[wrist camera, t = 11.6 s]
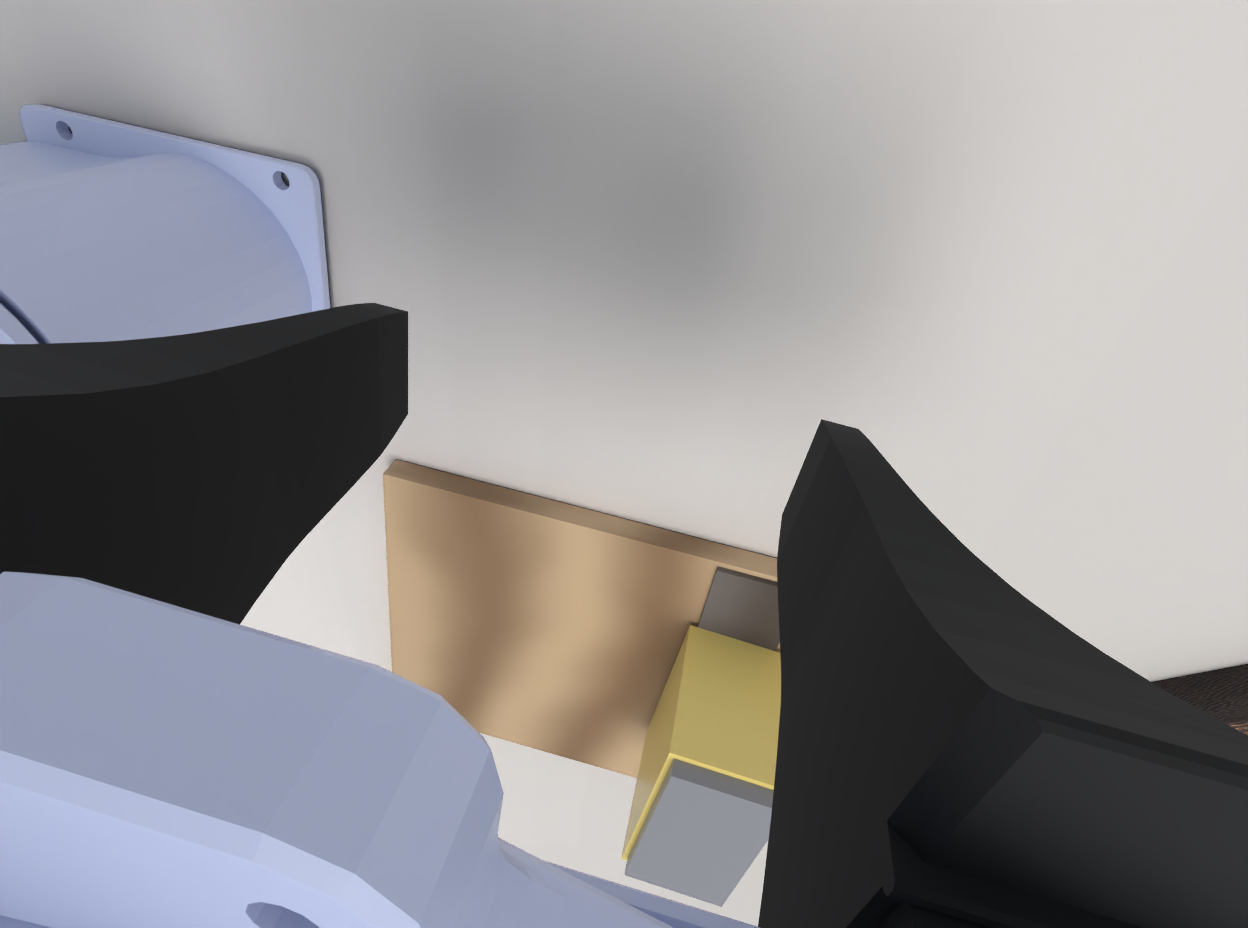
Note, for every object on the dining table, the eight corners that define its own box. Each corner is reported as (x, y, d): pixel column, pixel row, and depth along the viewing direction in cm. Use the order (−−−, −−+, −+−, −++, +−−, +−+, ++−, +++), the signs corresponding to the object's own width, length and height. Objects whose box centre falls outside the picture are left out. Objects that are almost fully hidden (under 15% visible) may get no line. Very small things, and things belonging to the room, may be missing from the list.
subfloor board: (403, 690, 33) (391, 712, 32) (396, 459, 25) (379, 477, 24) (803, 805, 32) (804, 831, 31) (928, 597, 24) (934, 623, 23)
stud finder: (646, 732, 29) (617, 875, 24) (689, 624, 25) (666, 770, 20) (735, 760, 29) (725, 910, 24) (793, 657, 25) (795, 812, 20)
